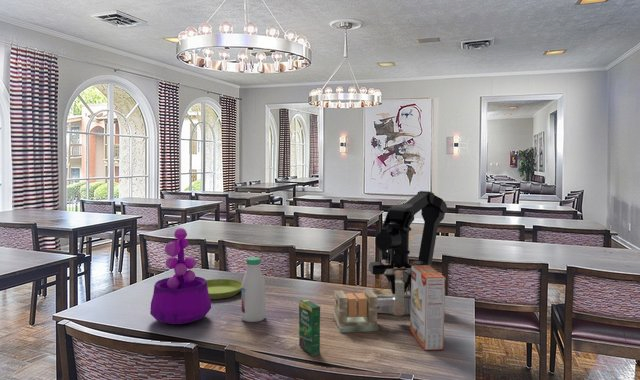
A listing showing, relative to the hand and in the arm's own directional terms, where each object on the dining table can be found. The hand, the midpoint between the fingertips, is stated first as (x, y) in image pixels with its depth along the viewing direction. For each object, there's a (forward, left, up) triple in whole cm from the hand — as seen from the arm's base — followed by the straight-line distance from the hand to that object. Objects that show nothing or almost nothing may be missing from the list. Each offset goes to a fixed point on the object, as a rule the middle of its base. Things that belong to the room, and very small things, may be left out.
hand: (398, 293), depth 145 cm
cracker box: (-4, +15, -10) cm, 18 cm away
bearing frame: (+14, 0, -10) cm, 17 cm away
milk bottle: (+46, -9, -10) cm, 48 cm away
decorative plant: (+69, -10, -10) cm, 70 cm away
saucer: (+60, -39, -10) cm, 72 cm away
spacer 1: (+16, 0, -3) cm, 16 cm away
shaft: (+9, 0, -6) cm, 11 cm away
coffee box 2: (+31, +17, -10) cm, 37 cm away
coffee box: (+7, -14, -6) cm, 17 cm away
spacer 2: (+12, 0, -3) cm, 13 cm away
